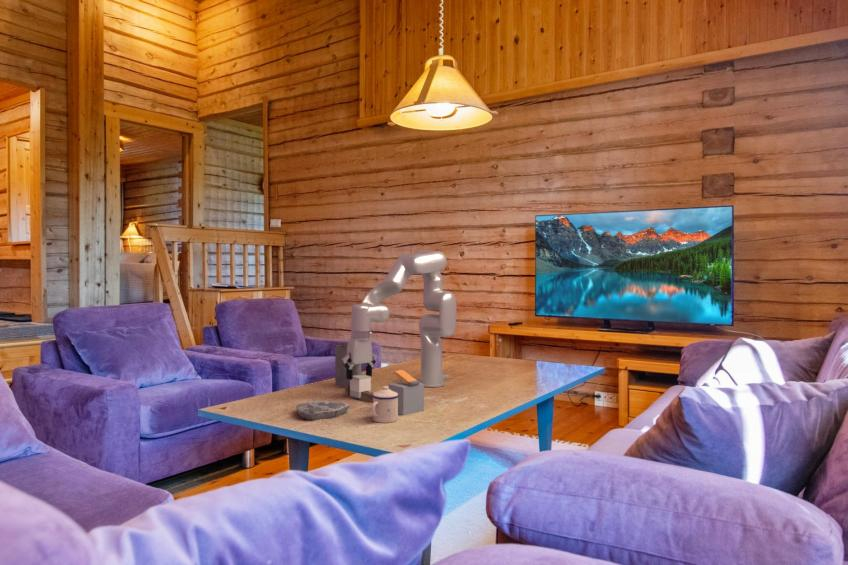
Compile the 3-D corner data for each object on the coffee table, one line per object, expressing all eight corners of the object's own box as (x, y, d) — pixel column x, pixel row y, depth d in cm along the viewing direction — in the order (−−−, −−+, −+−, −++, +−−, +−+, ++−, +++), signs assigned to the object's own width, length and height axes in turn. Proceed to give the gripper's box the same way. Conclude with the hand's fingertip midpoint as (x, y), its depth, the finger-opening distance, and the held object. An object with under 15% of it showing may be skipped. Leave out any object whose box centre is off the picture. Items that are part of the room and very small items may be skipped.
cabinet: (408, 406, 224) (408, 380, 224) (423, 410, 218) (423, 383, 218) (388, 411, 218) (388, 384, 217) (403, 415, 212) (403, 387, 211)
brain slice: (324, 406, 225) (324, 398, 225) (356, 413, 215) (356, 405, 215) (282, 416, 210) (282, 407, 210) (314, 424, 200) (314, 415, 199)
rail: (354, 394, 244) (354, 383, 244) (403, 407, 223) (403, 395, 223) (344, 396, 241) (344, 385, 241) (393, 409, 219) (393, 397, 219)
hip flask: (362, 389, 255) (362, 342, 254) (355, 390, 252) (355, 343, 251) (339, 383, 266) (339, 339, 265) (332, 384, 263) (332, 340, 262)
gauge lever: (402, 372, 223) (403, 369, 222) (418, 385, 216) (419, 381, 216) (393, 374, 220) (394, 370, 219) (409, 387, 213) (411, 383, 213)
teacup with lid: (382, 415, 212) (382, 382, 211) (403, 418, 207) (403, 385, 206) (361, 422, 202) (361, 388, 201) (383, 426, 197) (383, 391, 196)
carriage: (361, 393, 242) (361, 374, 242) (370, 395, 238) (370, 376, 237) (349, 395, 238) (349, 376, 238) (359, 398, 233) (359, 378, 233)
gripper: (371, 333, 245) (370, 374, 246) (337, 335, 233) (336, 378, 234) (383, 335, 240) (381, 377, 240) (348, 337, 228) (347, 381, 228)
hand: (359, 377), depth 237 cm, fingers open, 9 cm apart
